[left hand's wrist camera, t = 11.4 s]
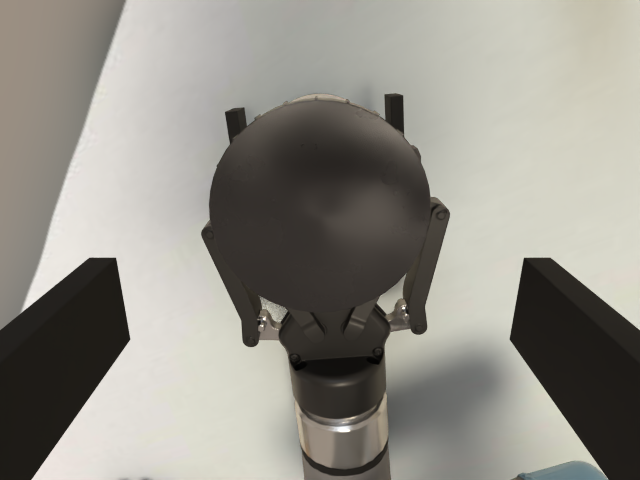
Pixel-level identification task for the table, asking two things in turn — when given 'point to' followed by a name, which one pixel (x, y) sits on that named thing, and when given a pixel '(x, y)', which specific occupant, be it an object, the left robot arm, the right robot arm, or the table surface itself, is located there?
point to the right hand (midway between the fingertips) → (313, 102)
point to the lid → (320, 205)
